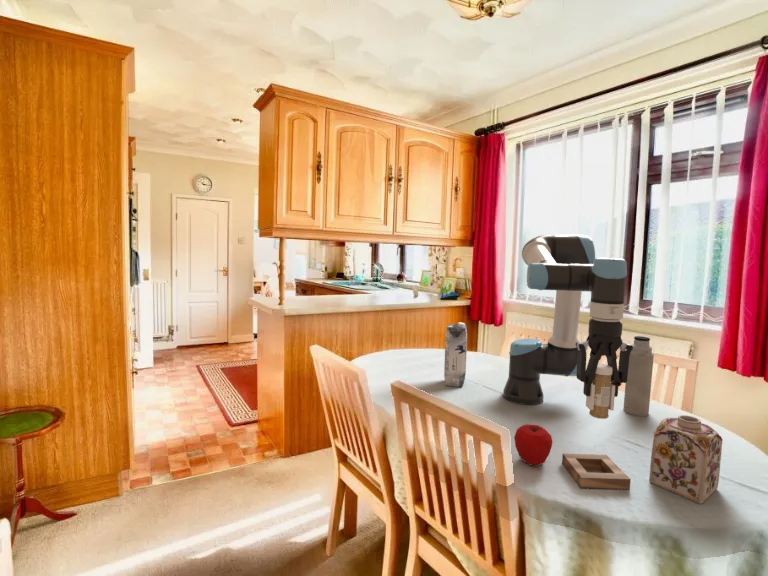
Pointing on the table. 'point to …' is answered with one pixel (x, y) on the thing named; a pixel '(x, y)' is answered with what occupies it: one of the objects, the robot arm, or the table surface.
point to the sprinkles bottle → (602, 391)
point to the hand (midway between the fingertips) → (599, 407)
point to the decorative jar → (686, 457)
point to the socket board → (595, 472)
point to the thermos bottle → (639, 378)
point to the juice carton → (455, 354)
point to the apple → (533, 444)
